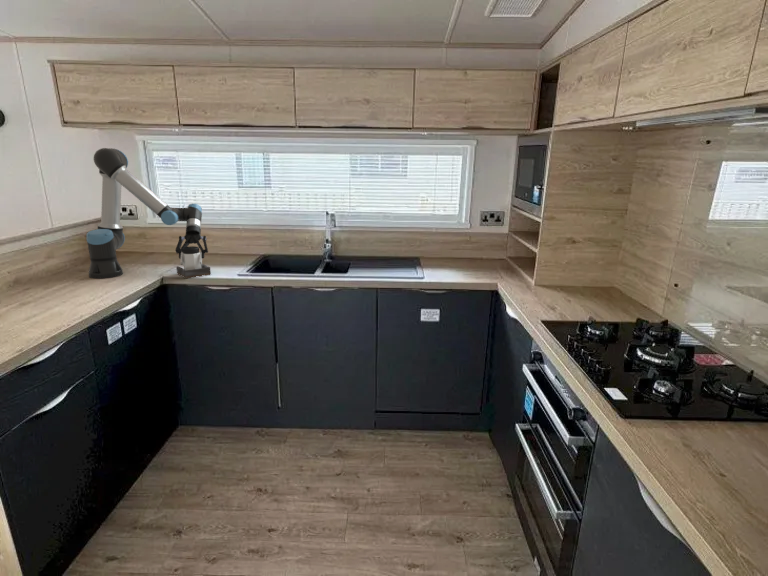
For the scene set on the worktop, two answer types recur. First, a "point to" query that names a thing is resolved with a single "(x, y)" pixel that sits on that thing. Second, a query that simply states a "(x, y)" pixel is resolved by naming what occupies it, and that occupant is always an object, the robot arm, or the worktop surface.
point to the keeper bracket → (194, 271)
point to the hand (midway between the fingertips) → (191, 263)
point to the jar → (191, 258)
